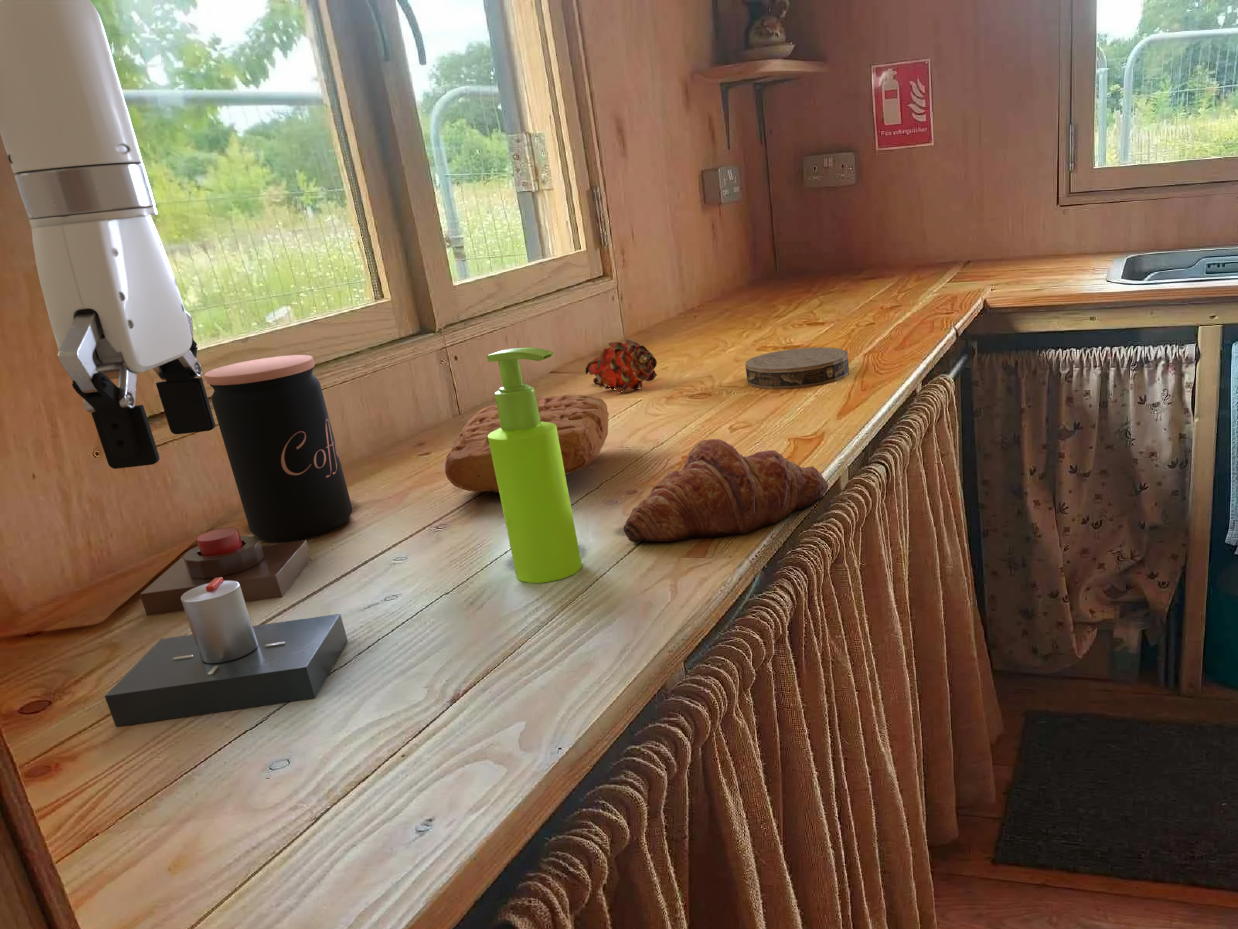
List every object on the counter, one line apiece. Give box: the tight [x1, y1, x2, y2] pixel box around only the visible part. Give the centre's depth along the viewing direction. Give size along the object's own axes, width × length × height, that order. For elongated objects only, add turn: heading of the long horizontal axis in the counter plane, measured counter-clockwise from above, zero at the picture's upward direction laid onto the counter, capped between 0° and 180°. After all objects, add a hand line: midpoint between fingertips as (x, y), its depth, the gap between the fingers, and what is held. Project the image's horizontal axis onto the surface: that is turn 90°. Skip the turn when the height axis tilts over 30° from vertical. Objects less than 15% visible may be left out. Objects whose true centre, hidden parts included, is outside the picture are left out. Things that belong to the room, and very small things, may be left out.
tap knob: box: [181, 577, 258, 663], centre depth 81 cm, size 4×4×5 cm
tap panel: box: [104, 613, 349, 728], centre depth 83 cm, size 14×10×3 cm
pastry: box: [623, 438, 829, 544], centre depth 106 cm, size 17×15×8 cm
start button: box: [196, 527, 243, 556], centre depth 102 cm, size 4×4×2 cm
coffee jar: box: [204, 354, 353, 544], centre depth 116 cm, size 11×11×18 cm
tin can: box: [744, 346, 850, 390], centre depth 168 cm, size 16×16×3 cm
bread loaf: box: [444, 393, 610, 493], centre depth 128 cm, size 22×17×8 cm
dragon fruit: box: [583, 338, 658, 393], centre depth 172 cm, size 8×8×12 cm
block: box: [139, 535, 312, 617], centre depth 103 cm, size 12×10×4 cm
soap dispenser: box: [486, 346, 582, 584], centre depth 95 cm, size 6×7×20 cm
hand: (166, 447), depth 79 cm, fingers open, 9 cm apart
